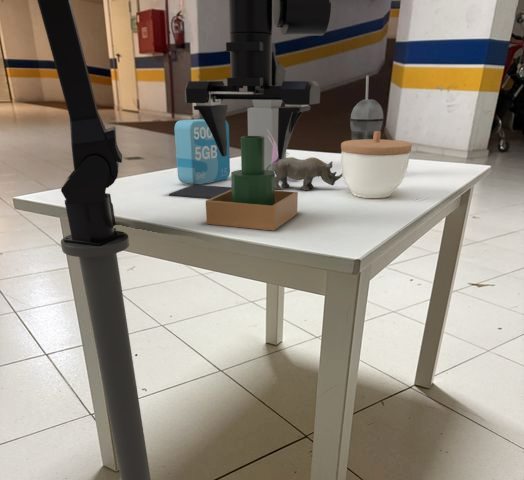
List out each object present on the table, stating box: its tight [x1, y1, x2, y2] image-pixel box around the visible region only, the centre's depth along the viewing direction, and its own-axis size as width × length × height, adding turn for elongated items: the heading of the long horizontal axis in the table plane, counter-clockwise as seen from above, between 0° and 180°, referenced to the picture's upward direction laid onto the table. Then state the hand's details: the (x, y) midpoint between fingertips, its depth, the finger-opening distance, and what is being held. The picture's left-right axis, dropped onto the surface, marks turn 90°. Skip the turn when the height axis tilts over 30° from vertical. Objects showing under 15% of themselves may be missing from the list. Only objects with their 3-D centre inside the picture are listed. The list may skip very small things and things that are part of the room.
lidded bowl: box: [340, 130, 413, 199], centre depth 92 cm, size 13×13×11 cm
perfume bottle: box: [247, 100, 287, 172], centre depth 118 cm, size 7×7×18 cm
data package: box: [174, 118, 231, 185], centre depth 104 cm, size 12×4×12 cm, turn 144°
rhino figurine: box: [274, 156, 343, 191], centre depth 98 cm, size 4×14×6 cm, turn 81°
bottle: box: [230, 135, 276, 206], centre depth 76 cm, size 7×7×12 cm
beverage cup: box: [349, 75, 384, 140], centre depth 109 cm, size 7×7×20 cm
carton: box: [205, 189, 299, 232], centre depth 78 cm, size 11×11×4 cm
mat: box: [168, 184, 232, 200], centre depth 97 cm, size 10×10×1 cm
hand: (252, 157), depth 74 cm, fingers open, 9 cm apart
